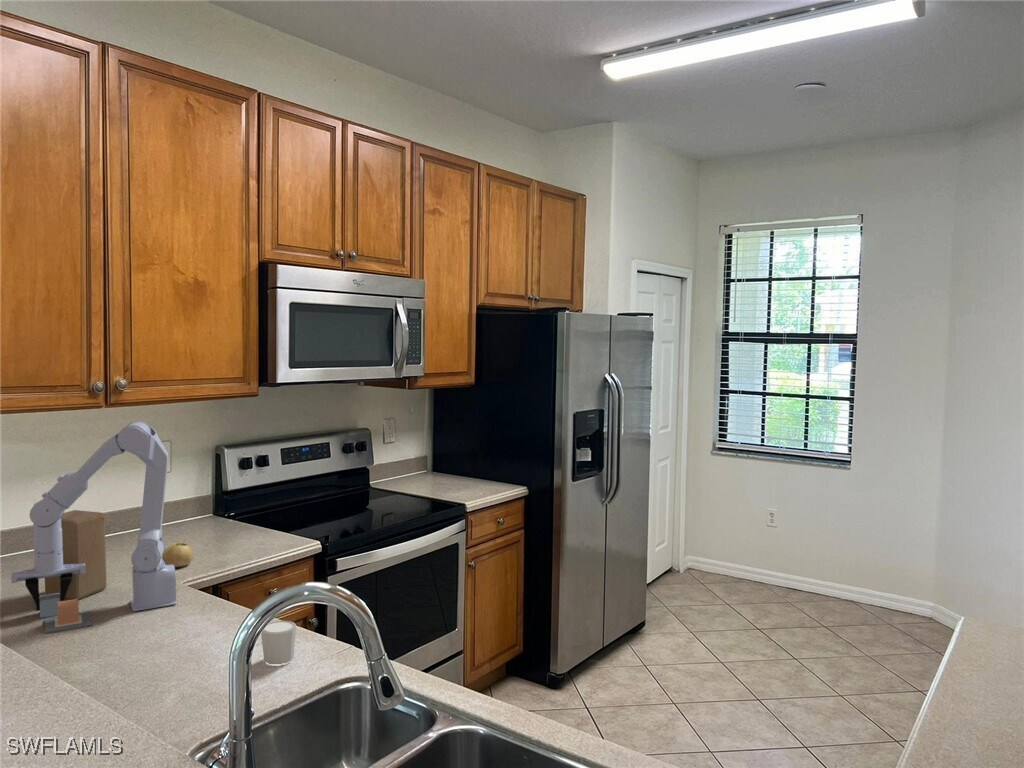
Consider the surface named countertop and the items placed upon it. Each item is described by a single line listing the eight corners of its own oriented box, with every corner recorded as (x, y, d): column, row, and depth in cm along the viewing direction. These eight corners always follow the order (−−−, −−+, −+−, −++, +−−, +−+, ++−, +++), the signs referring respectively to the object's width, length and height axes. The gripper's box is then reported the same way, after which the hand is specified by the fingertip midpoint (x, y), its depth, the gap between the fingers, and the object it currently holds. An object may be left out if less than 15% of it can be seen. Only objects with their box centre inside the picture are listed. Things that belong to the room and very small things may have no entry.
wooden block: (108, 589, 192) (106, 511, 191) (76, 602, 182) (73, 521, 181) (76, 585, 195) (74, 508, 193) (43, 598, 185) (40, 518, 184)
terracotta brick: (78, 615, 172) (78, 598, 172) (78, 621, 169) (78, 604, 169) (58, 619, 170) (57, 601, 170) (58, 625, 167) (57, 607, 167)
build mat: (90, 612, 176) (90, 610, 176) (92, 625, 168) (92, 623, 168) (45, 620, 171) (45, 618, 171) (44, 633, 163) (44, 631, 163)
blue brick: (60, 609, 178) (59, 592, 177) (60, 614, 174) (59, 597, 174) (40, 612, 176) (39, 595, 175) (40, 618, 172) (39, 600, 172)
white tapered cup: (255, 660, 151) (254, 626, 151) (286, 650, 156) (286, 617, 156) (271, 671, 147) (270, 636, 146) (303, 660, 151) (302, 626, 151)
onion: (167, 572, 206) (166, 546, 206) (158, 564, 212) (158, 540, 212) (197, 566, 211) (196, 541, 211) (188, 559, 217) (188, 535, 217)
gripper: (83, 541, 181) (85, 596, 182) (11, 550, 174) (13, 607, 175) (84, 549, 175) (86, 606, 176) (10, 558, 168) (12, 617, 169)
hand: (50, 607), depth 175 cm, fingers closed on blue brick, 4 cm apart
